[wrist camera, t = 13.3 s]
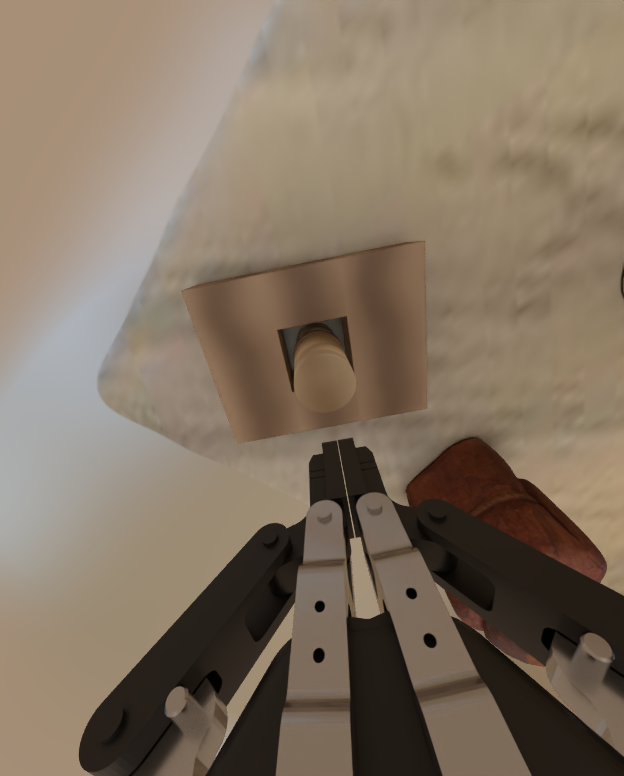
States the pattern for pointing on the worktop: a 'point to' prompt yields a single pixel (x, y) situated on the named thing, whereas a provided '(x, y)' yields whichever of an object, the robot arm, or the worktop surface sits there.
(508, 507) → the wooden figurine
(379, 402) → the wooden board with hole
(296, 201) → the worktop surface
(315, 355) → the beech peg
